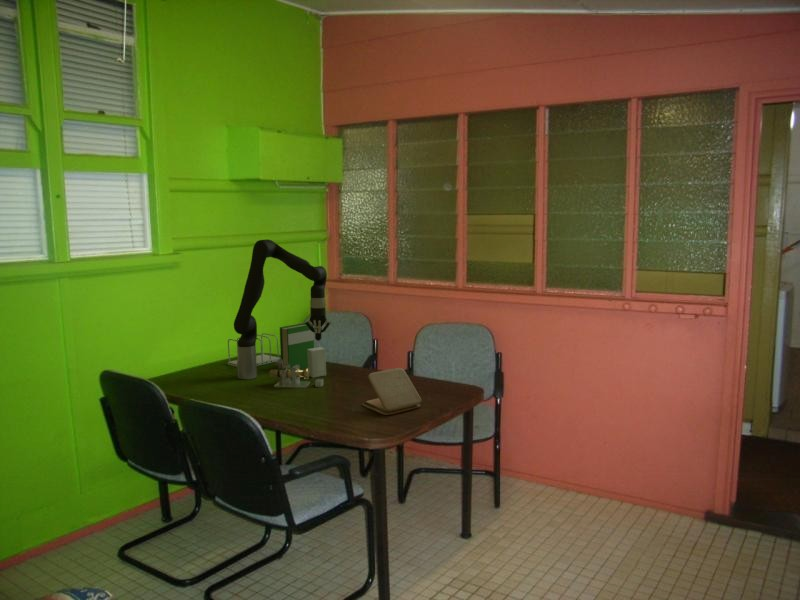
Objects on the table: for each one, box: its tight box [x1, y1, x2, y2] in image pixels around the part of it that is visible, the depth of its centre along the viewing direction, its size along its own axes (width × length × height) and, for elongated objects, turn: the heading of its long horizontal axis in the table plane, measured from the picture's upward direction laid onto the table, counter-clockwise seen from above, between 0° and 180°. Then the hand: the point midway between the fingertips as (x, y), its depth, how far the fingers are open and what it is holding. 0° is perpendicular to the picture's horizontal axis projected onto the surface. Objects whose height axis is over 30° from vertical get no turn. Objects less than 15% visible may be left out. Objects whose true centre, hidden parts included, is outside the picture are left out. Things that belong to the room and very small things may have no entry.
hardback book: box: [279, 322, 315, 370], centre depth 363 cm, size 18×7×24 cm, turn 136°
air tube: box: [269, 368, 310, 380], centre depth 328 cm, size 19×6×6 cm, turn 83°
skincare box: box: [307, 346, 327, 378], centre depth 346 cm, size 8×6×15 cm
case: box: [362, 367, 422, 416], centre depth 290 cm, size 20×21×16 cm
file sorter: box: [227, 332, 281, 368], centre depth 377 cm, size 25×17×16 cm
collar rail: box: [273, 359, 324, 389], centre depth 328 cm, size 24×10×12 cm, turn 83°
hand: (318, 340), depth 328 cm, fingers closed
